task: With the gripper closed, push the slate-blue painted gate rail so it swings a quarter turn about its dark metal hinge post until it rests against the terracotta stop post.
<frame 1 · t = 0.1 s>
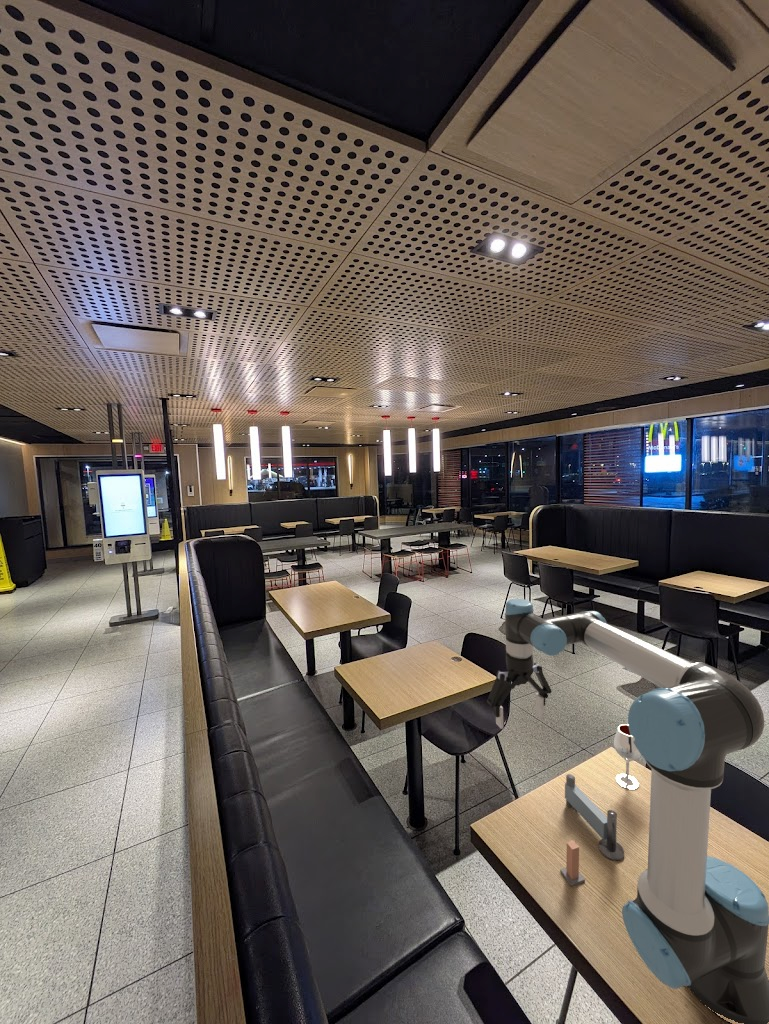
hand: (519, 720, 123), 28 cm above the table, fingers open, 13 cm apart
hinge post: (611, 850, 111), on the table
wineglass: (627, 782, 134), on the table
gate: (586, 807, 119), point 5 cm above the table, hinge at 0.0°
stop post: (572, 876, 105), on the table
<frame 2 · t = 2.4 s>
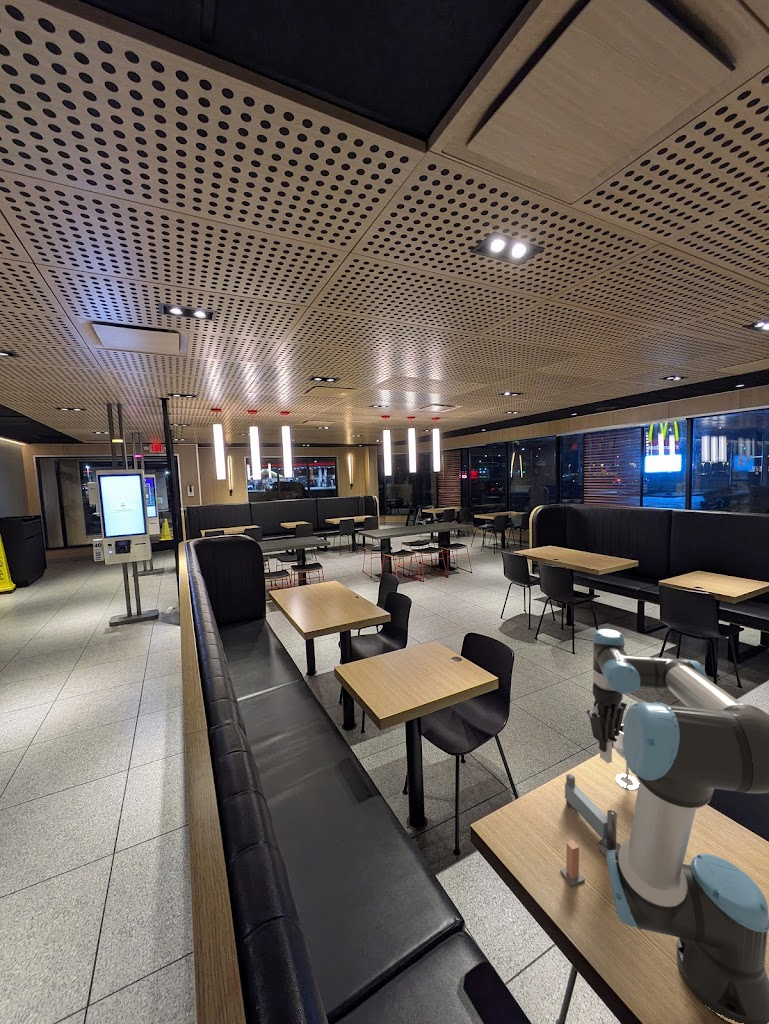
hand: (605, 759, 121), 17 cm above the table, fingers closed
nothing on the table moved.
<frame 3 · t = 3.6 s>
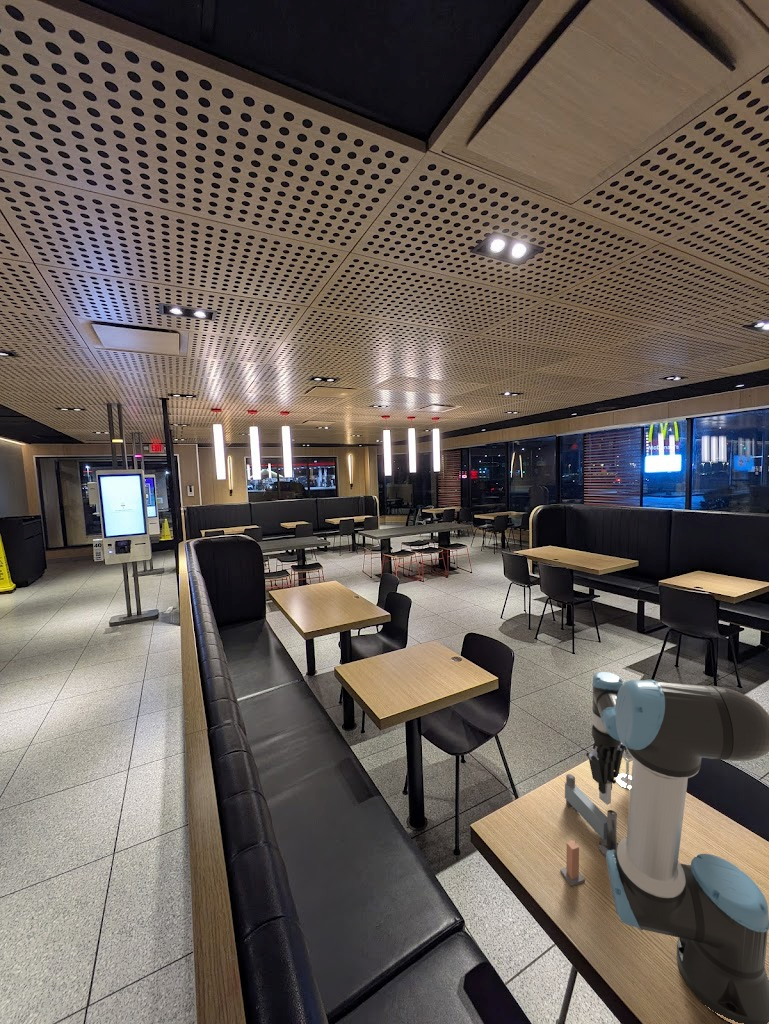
hand: (605, 800, 122), 4 cm above the table, fingers closed
nothing on the table moved.
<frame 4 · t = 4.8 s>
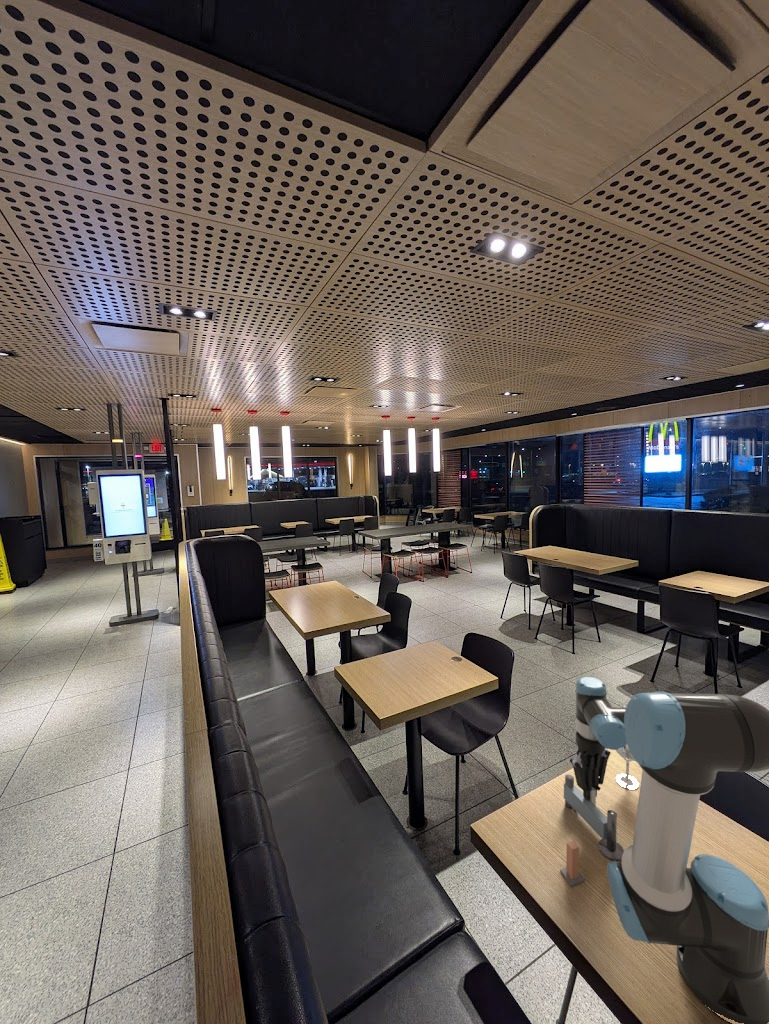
hand: (589, 807, 120), 4 cm above the table, fingers closed
gate: (585, 807, 119), point 5 cm above the table, hinge at 1.5°, touching gripper
everything else where it was.
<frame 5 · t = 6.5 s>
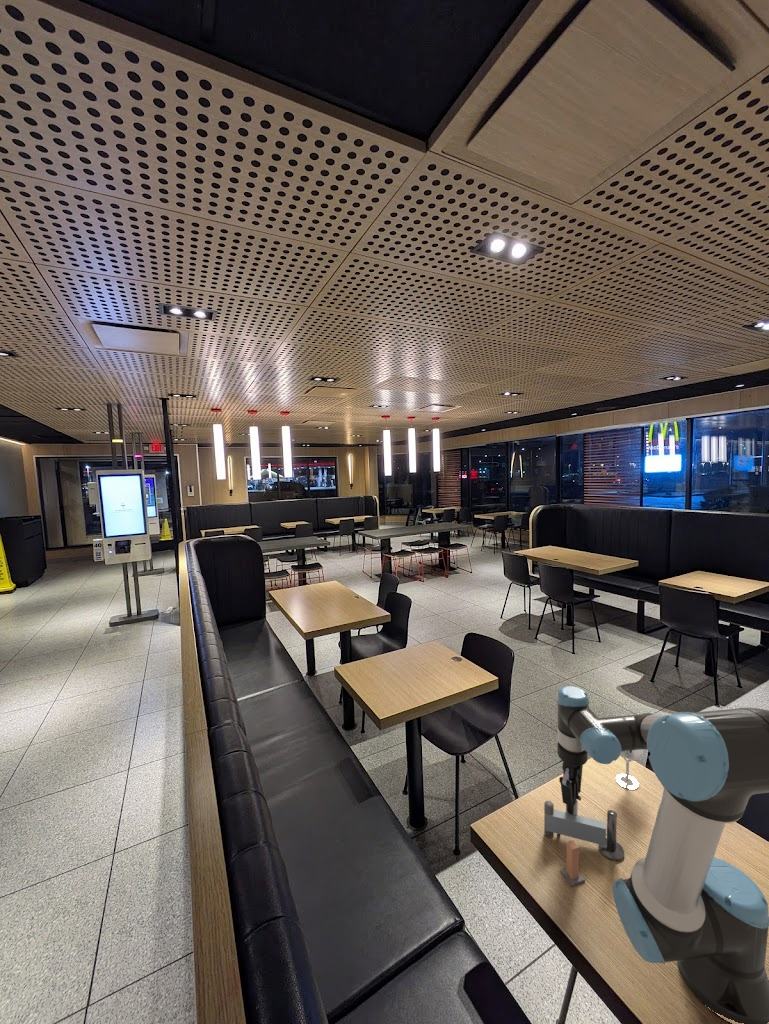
hand: (571, 820, 116), 4 cm above the table, fingers closed
gate: (574, 825, 114), point 5 cm above the table, hinge at 52.9°, touching gripper
everything else where it was.
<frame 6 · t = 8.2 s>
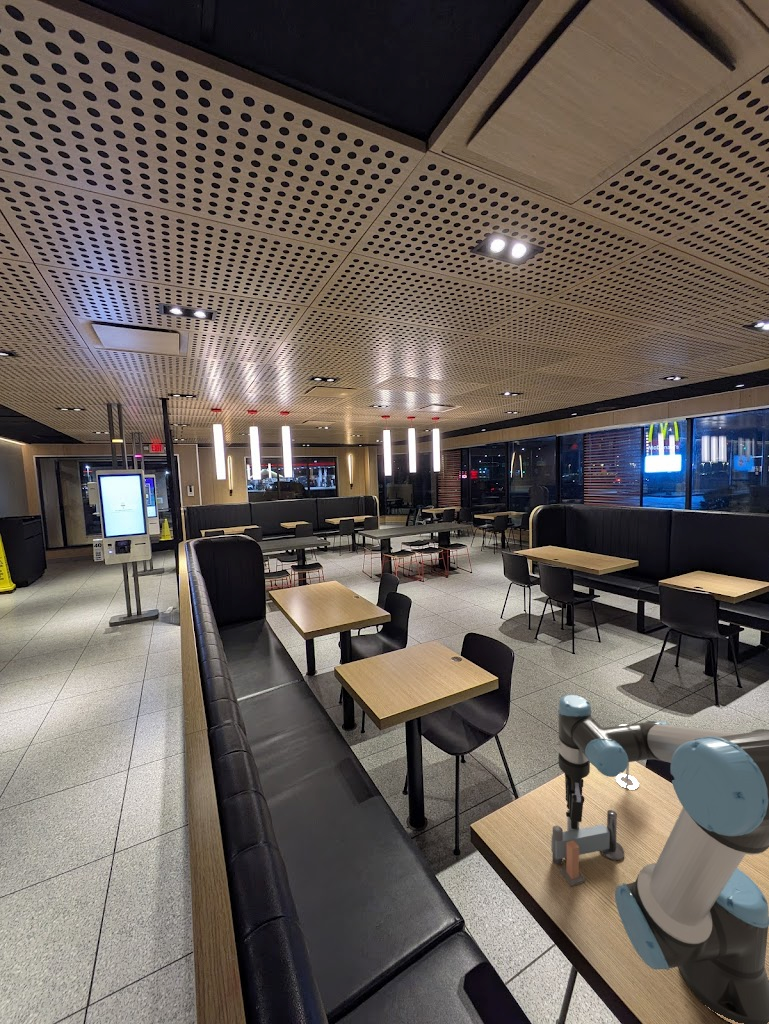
hand: (573, 834, 112), 4 cm above the table, fingers closed
gate: (580, 840, 109), point 5 cm above the table, hinge at 82.5°
everything else where it was.
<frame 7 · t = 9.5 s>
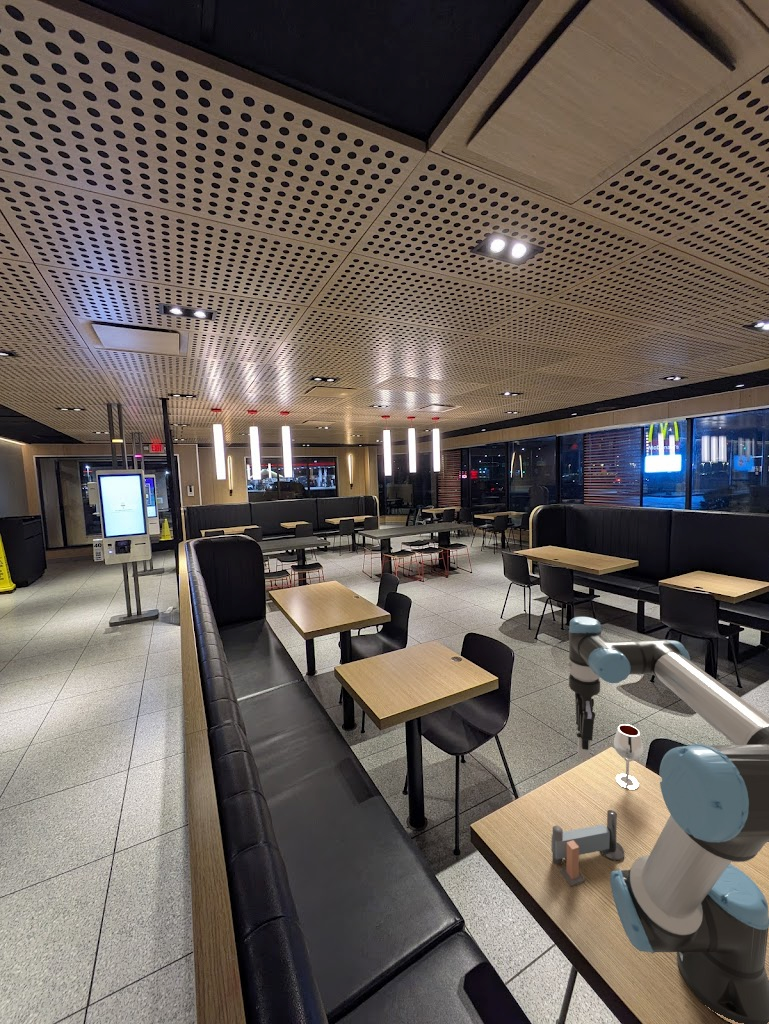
hand: (583, 756, 114), 23 cm above the table, fingers closed
nothing on the table moved.
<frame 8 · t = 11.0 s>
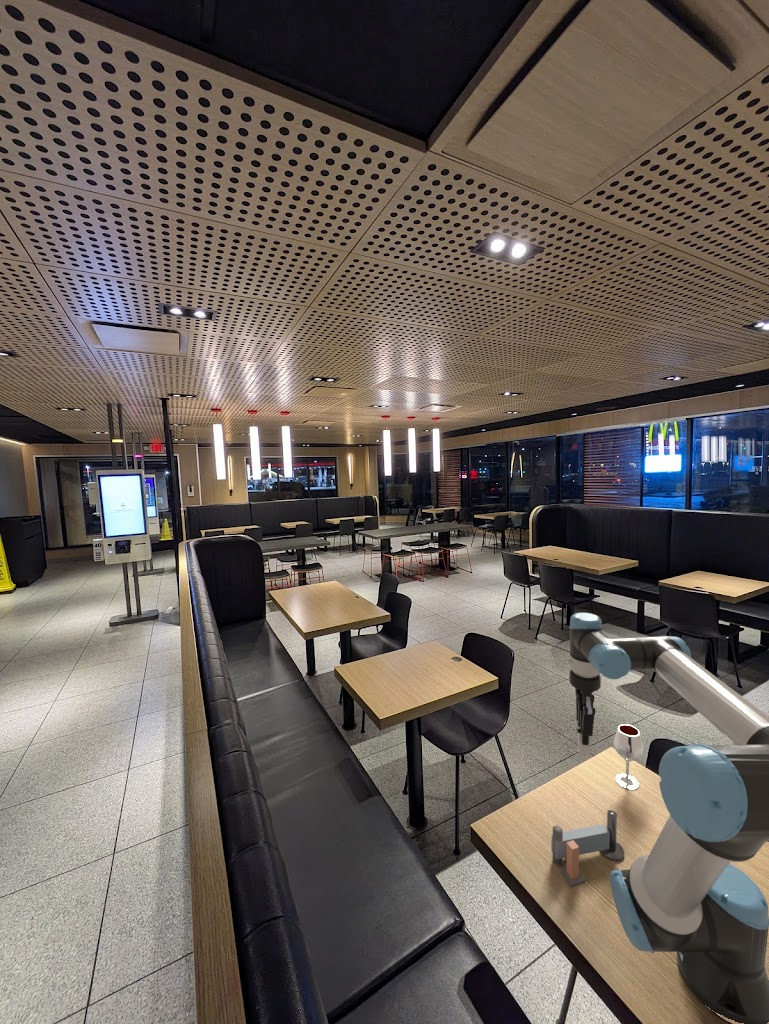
hand: (583, 752, 114), 24 cm above the table, fingers closed
nothing on the table moved.
at the end: gate at +82° (first picture: +0°); gate touching nothing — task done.
